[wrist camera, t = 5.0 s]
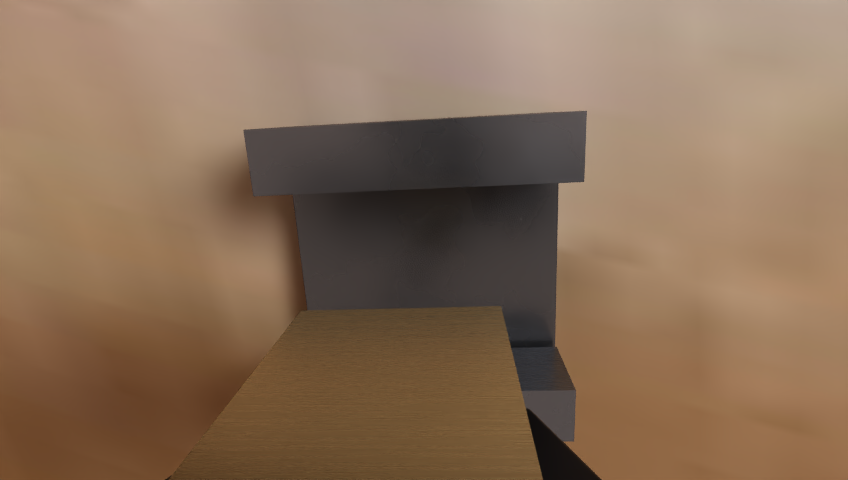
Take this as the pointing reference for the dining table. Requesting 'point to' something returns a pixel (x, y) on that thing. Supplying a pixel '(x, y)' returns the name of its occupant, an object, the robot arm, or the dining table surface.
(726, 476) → the dining table surface
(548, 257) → the vise base
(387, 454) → the block
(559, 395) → the jaw
